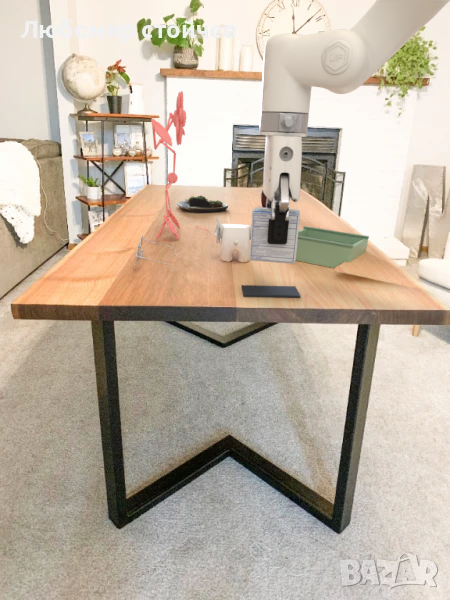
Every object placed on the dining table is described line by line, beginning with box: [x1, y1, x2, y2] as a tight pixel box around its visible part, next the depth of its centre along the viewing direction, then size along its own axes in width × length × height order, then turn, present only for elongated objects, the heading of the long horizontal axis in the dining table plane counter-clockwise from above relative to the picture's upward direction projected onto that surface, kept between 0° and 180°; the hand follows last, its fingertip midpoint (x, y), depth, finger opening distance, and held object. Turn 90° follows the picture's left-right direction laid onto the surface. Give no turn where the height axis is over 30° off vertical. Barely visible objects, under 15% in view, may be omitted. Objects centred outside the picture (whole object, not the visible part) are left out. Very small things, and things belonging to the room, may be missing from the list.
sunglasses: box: [133, 235, 178, 274], centre depth 93 cm, size 14×8×5 cm, turn 5°
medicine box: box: [249, 206, 301, 265], centre depth 76 cm, size 8×4×9 cm, turn 81°
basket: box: [295, 225, 370, 269], centre depth 101 cm, size 16×12×6 cm
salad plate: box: [176, 195, 229, 214], centre depth 158 cm, size 19×18×5 cm
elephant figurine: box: [213, 218, 252, 263], centre depth 98 cm, size 10×12×9 cm
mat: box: [241, 284, 301, 299], centre depth 80 cm, size 10×5×1 cm, turn 92°
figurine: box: [149, 90, 214, 244], centre depth 112 cm, size 15×26×35 cm, turn 2°
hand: (274, 238), depth 76 cm, fingers closed on medicine box, 5 cm apart
